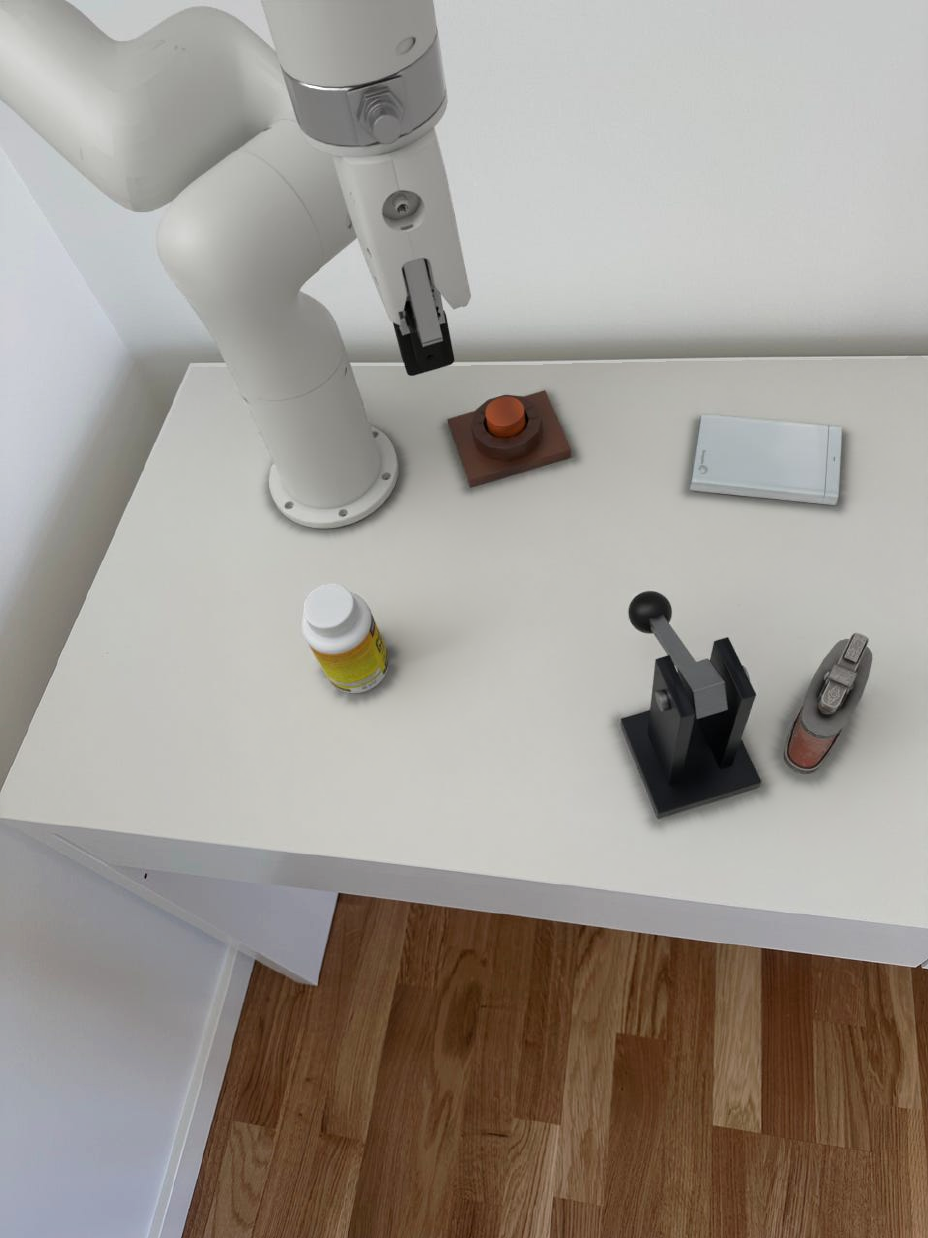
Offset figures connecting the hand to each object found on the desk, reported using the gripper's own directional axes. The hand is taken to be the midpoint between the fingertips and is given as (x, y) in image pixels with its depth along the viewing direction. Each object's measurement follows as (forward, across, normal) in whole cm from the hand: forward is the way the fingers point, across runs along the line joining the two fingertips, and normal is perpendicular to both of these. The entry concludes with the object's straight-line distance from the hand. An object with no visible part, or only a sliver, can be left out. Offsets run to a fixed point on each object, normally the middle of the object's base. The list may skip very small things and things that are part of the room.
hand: (428, 361), depth 60 cm
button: (+23, +13, -7) cm, 27 cm away
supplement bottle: (+25, -6, +12) cm, 29 cm away
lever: (+17, -18, -11) cm, 27 cm away
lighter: (+25, -23, -21) cm, 40 cm away
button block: (+25, +13, -7) cm, 29 cm away
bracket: (+25, -22, -11) cm, 35 cm away
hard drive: (+25, +2, -28) cm, 38 cm away
